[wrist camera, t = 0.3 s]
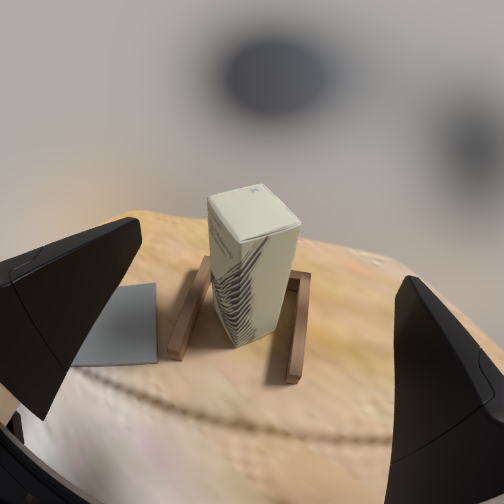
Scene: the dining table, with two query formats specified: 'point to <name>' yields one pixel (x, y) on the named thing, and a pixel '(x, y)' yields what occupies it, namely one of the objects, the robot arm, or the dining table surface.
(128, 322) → the coaster
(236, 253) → the box
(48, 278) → the robot arm
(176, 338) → the cradle
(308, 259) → the dining table surface
